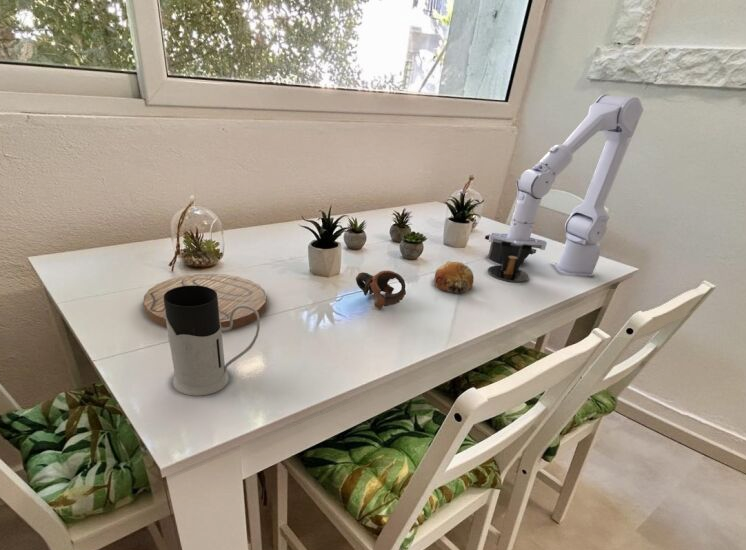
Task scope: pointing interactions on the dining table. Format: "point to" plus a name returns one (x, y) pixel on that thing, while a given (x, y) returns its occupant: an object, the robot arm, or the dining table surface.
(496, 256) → the pot
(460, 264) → the bread roll
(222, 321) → the trivet
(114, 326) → the dining table surface
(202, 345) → the glass holder
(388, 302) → the brown curved loop
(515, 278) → the lid
